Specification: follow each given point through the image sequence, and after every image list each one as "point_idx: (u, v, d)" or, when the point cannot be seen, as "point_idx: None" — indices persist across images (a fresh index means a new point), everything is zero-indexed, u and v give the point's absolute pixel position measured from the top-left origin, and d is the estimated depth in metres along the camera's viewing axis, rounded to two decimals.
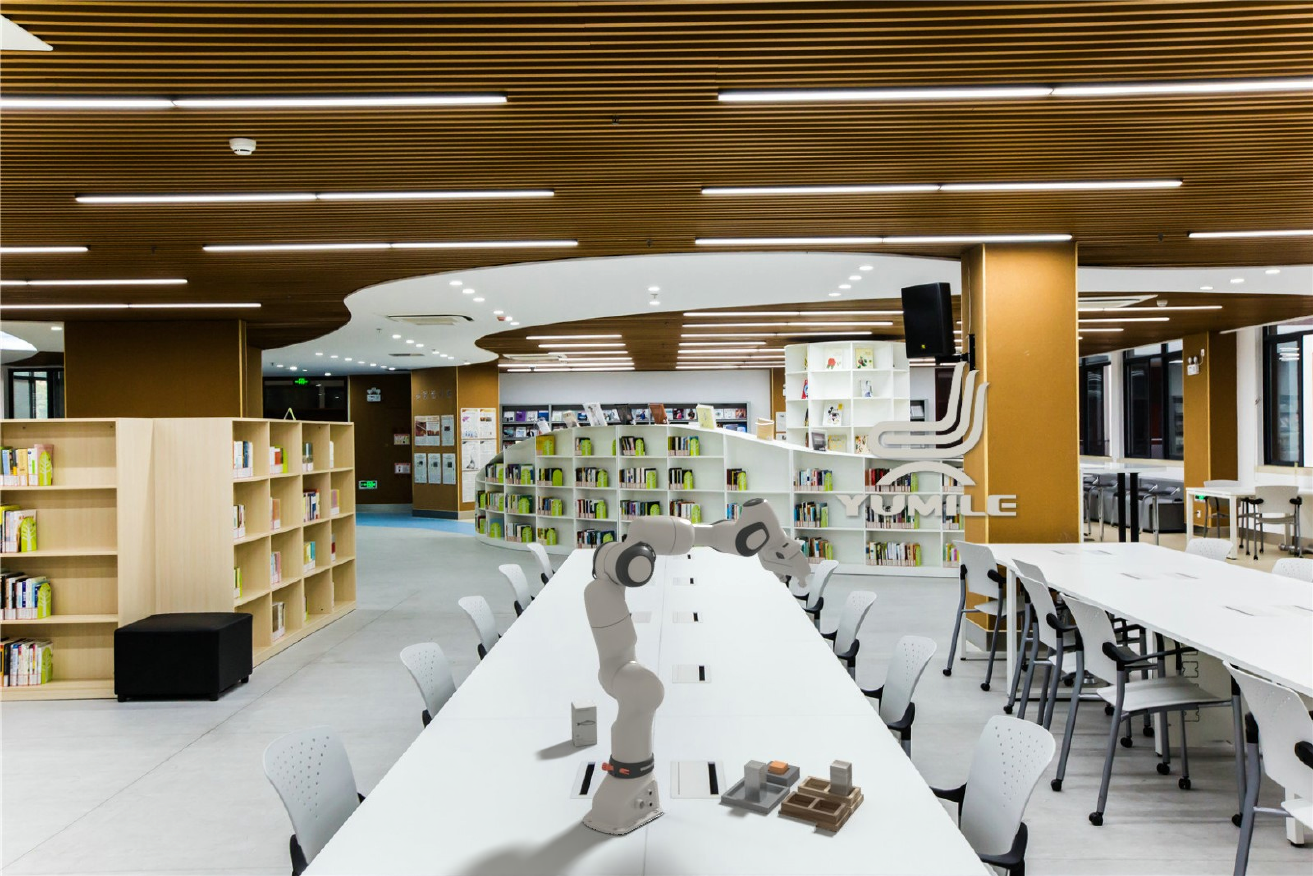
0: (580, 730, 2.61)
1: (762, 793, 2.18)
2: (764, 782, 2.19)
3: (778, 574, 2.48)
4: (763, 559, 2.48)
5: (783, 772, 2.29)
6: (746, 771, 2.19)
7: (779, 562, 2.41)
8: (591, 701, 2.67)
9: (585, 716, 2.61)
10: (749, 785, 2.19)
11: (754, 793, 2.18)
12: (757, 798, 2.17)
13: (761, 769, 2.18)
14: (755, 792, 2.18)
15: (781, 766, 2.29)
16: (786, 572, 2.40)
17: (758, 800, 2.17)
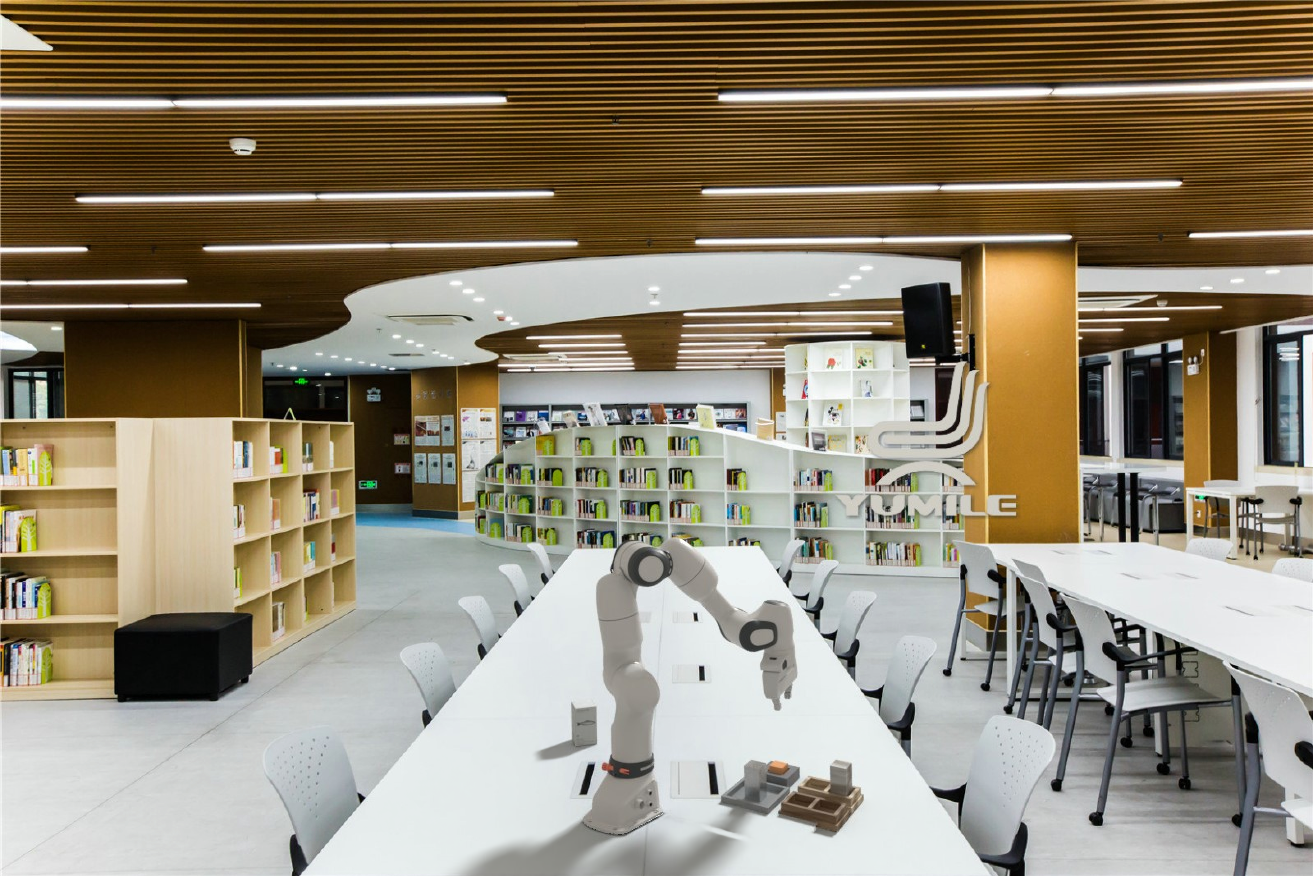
0: (580, 730, 2.61)
1: (762, 793, 2.18)
2: (764, 782, 2.19)
3: (787, 688, 2.37)
4: None
5: (783, 772, 2.29)
6: (746, 771, 2.19)
7: None
8: (591, 701, 2.67)
9: (584, 716, 2.61)
10: (749, 785, 2.19)
11: (754, 793, 2.18)
12: (757, 798, 2.17)
13: (761, 769, 2.18)
14: (755, 792, 2.18)
15: (781, 766, 2.29)
16: None
17: (758, 800, 2.17)
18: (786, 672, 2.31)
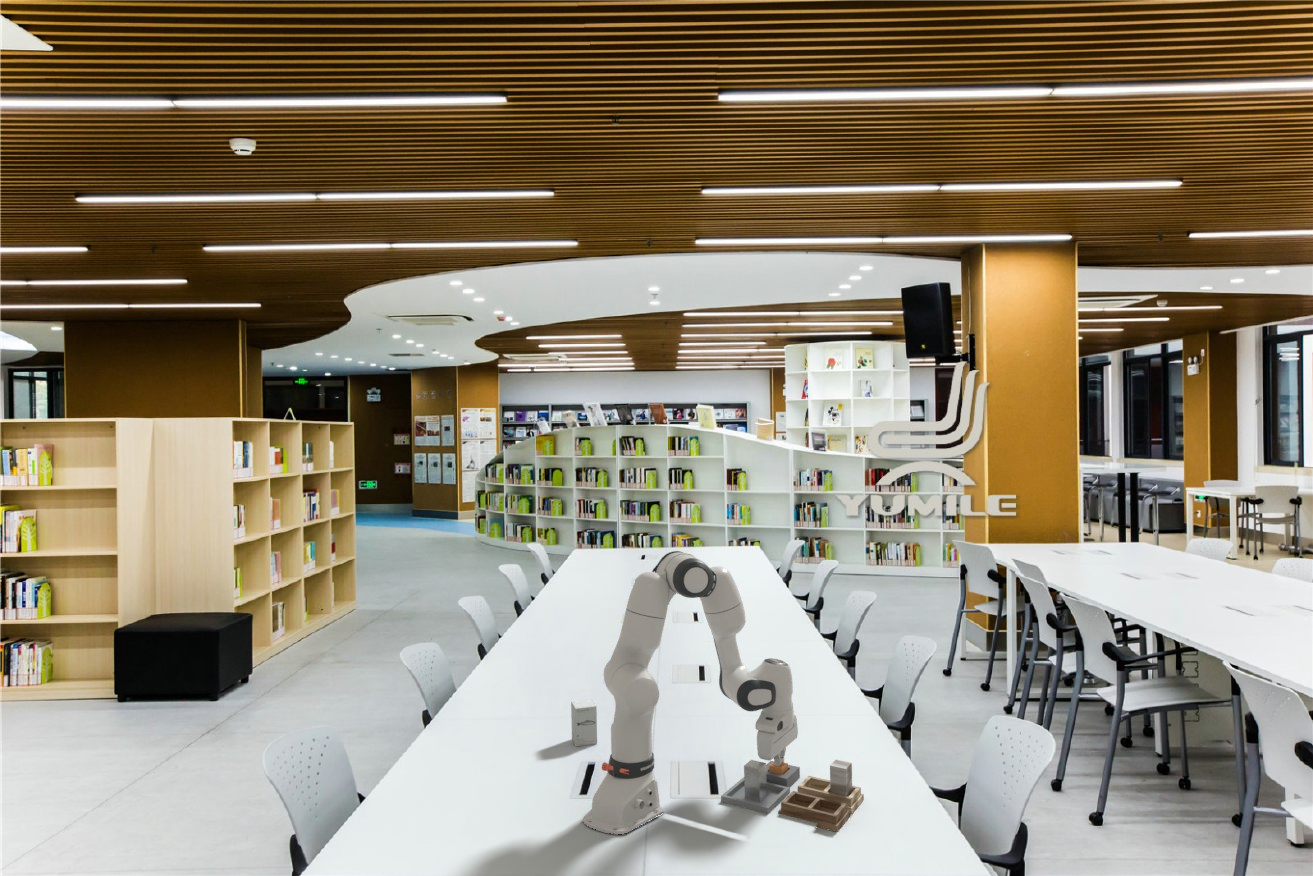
0: (580, 730, 2.61)
1: (762, 793, 2.18)
2: (764, 782, 2.19)
3: (780, 752, 2.32)
4: None
5: (783, 772, 2.29)
6: (746, 771, 2.19)
7: None
8: (591, 701, 2.67)
9: (584, 716, 2.61)
10: (749, 785, 2.19)
11: (754, 793, 2.18)
12: (757, 798, 2.17)
13: (761, 769, 2.18)
14: (755, 792, 2.18)
15: (781, 766, 2.29)
16: None
17: (758, 800, 2.17)
18: (783, 732, 2.30)
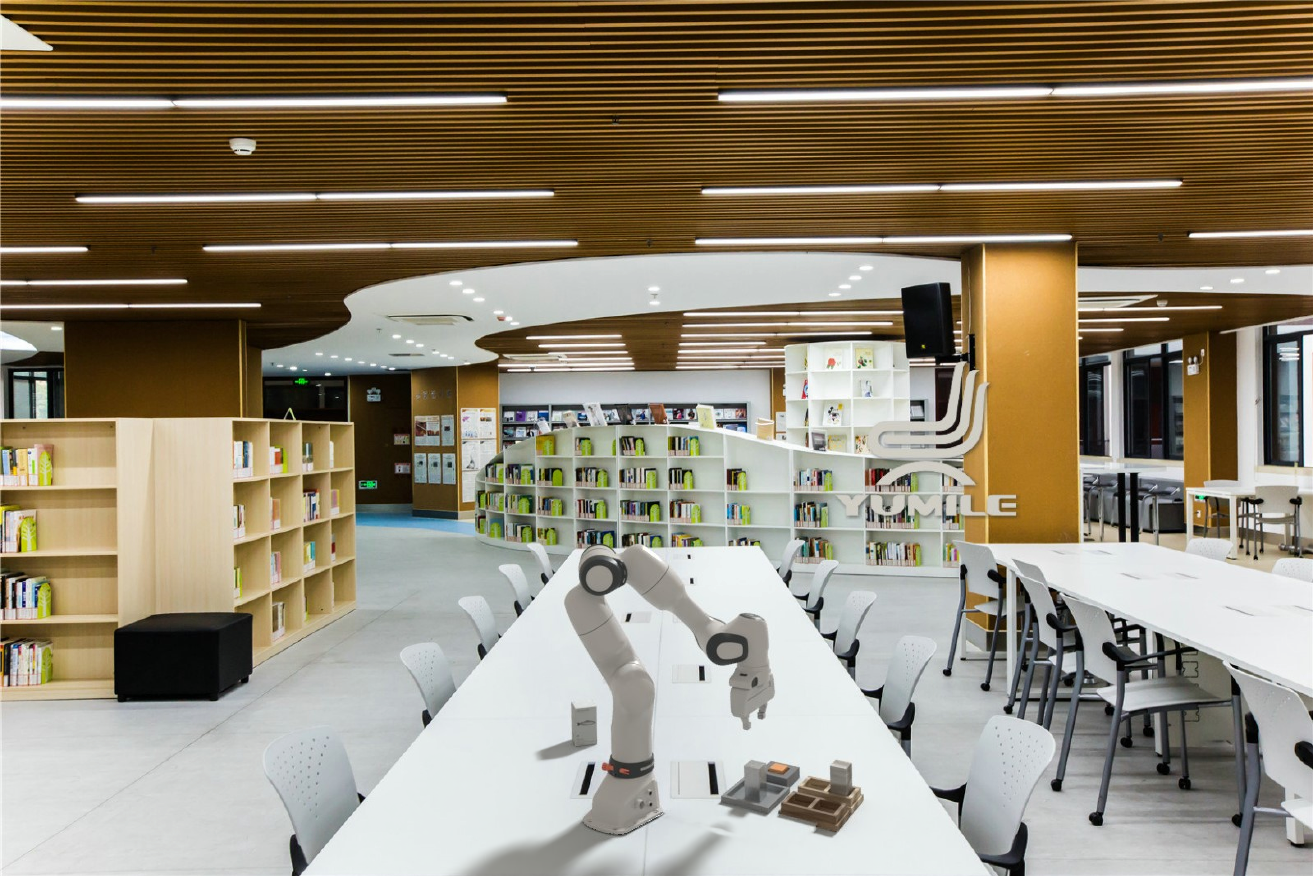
0: (580, 730, 2.61)
1: (762, 793, 2.18)
2: (764, 782, 2.19)
3: (761, 707, 2.24)
4: None
5: None
6: (746, 771, 2.19)
7: None
8: (591, 701, 2.67)
9: (584, 716, 2.61)
10: (749, 785, 2.19)
11: (754, 793, 2.18)
12: (757, 798, 2.17)
13: (761, 769, 2.18)
14: (755, 792, 2.18)
15: (781, 769, 2.29)
16: None
17: (758, 800, 2.17)
18: (759, 690, 2.19)
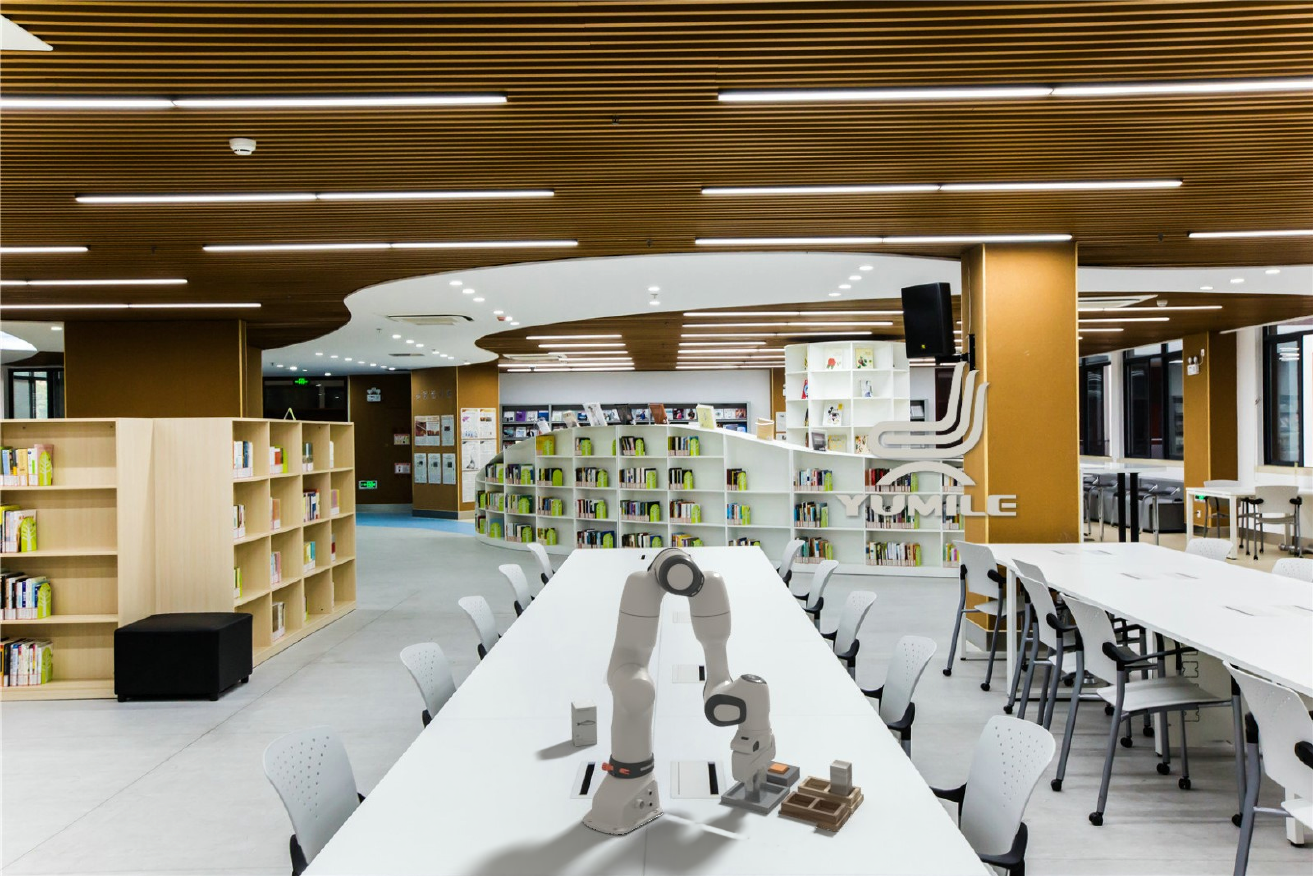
0: (580, 730, 2.61)
1: (762, 793, 2.18)
2: (764, 782, 2.19)
3: None
4: None
5: None
6: None
7: None
8: (591, 701, 2.67)
9: (585, 716, 2.61)
10: None
11: (754, 793, 2.18)
12: (757, 798, 2.17)
13: (761, 769, 2.18)
14: (755, 792, 2.18)
15: (781, 769, 2.29)
16: None
17: (758, 800, 2.17)
18: (760, 753, 2.19)
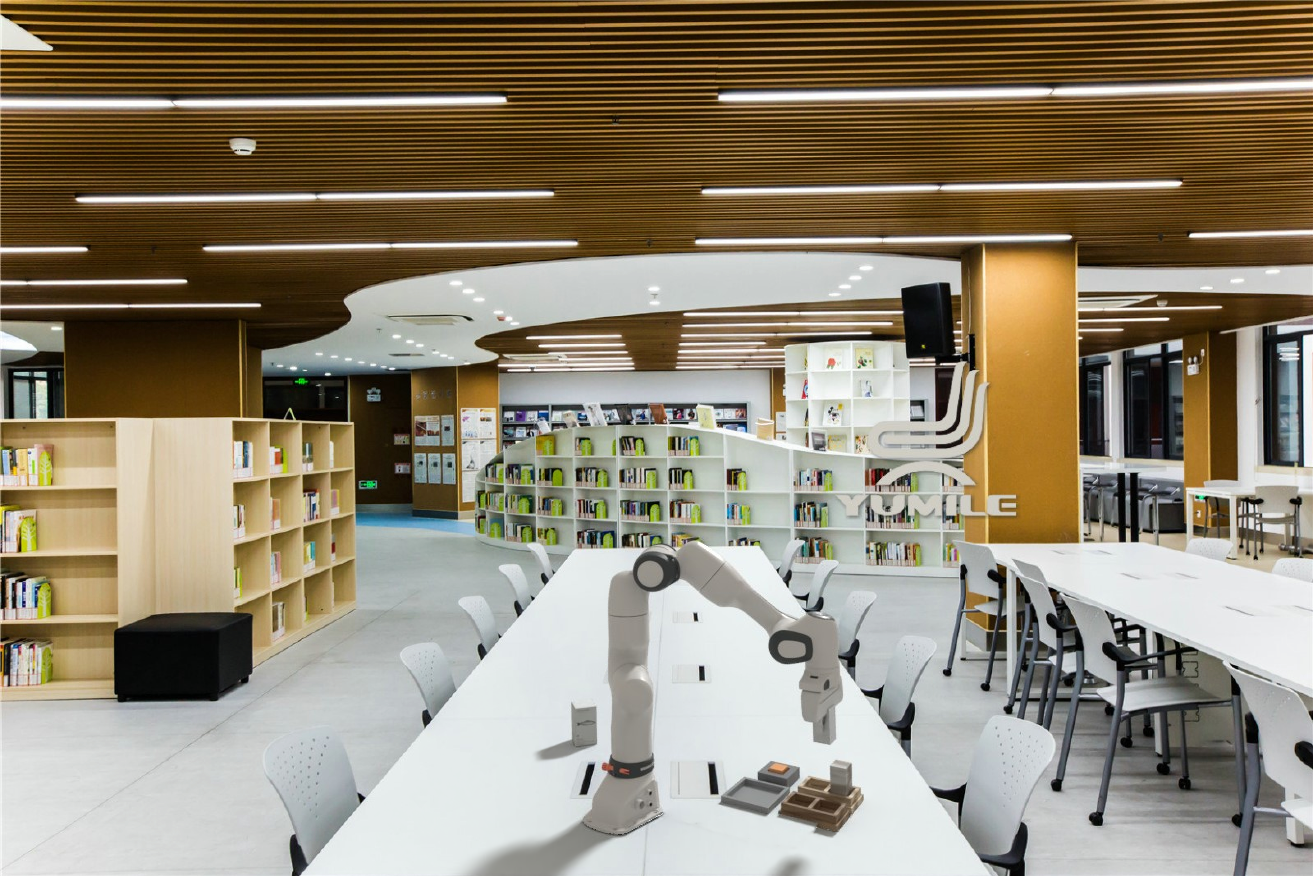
0: (580, 730, 2.61)
1: (832, 735, 2.07)
2: (833, 724, 2.08)
3: None
4: None
5: None
6: None
7: None
8: (591, 701, 2.67)
9: (584, 716, 2.61)
10: None
11: (823, 736, 2.06)
12: (827, 740, 2.06)
13: (831, 710, 2.07)
14: (824, 735, 2.06)
15: (781, 769, 2.29)
16: None
17: (828, 743, 2.06)
18: (829, 693, 2.08)
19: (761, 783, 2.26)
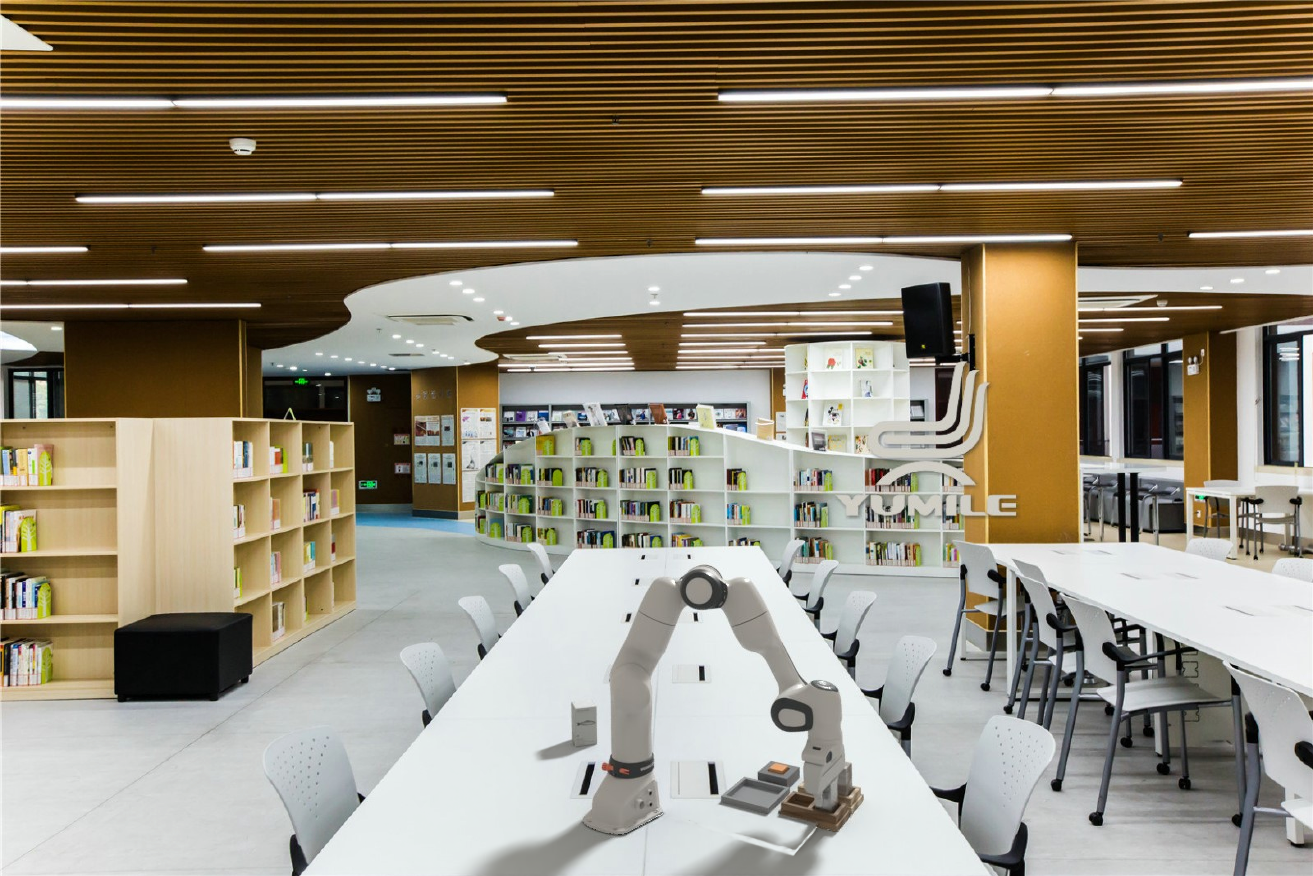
0: (580, 730, 2.61)
1: (833, 810, 2.07)
2: (835, 798, 2.08)
3: None
4: None
5: None
6: None
7: None
8: (591, 701, 2.67)
9: (585, 716, 2.61)
10: None
11: (825, 810, 2.06)
12: None
13: (832, 785, 2.07)
14: (826, 809, 2.06)
15: (781, 769, 2.29)
16: None
17: None
18: (831, 763, 2.08)
19: (761, 783, 2.26)
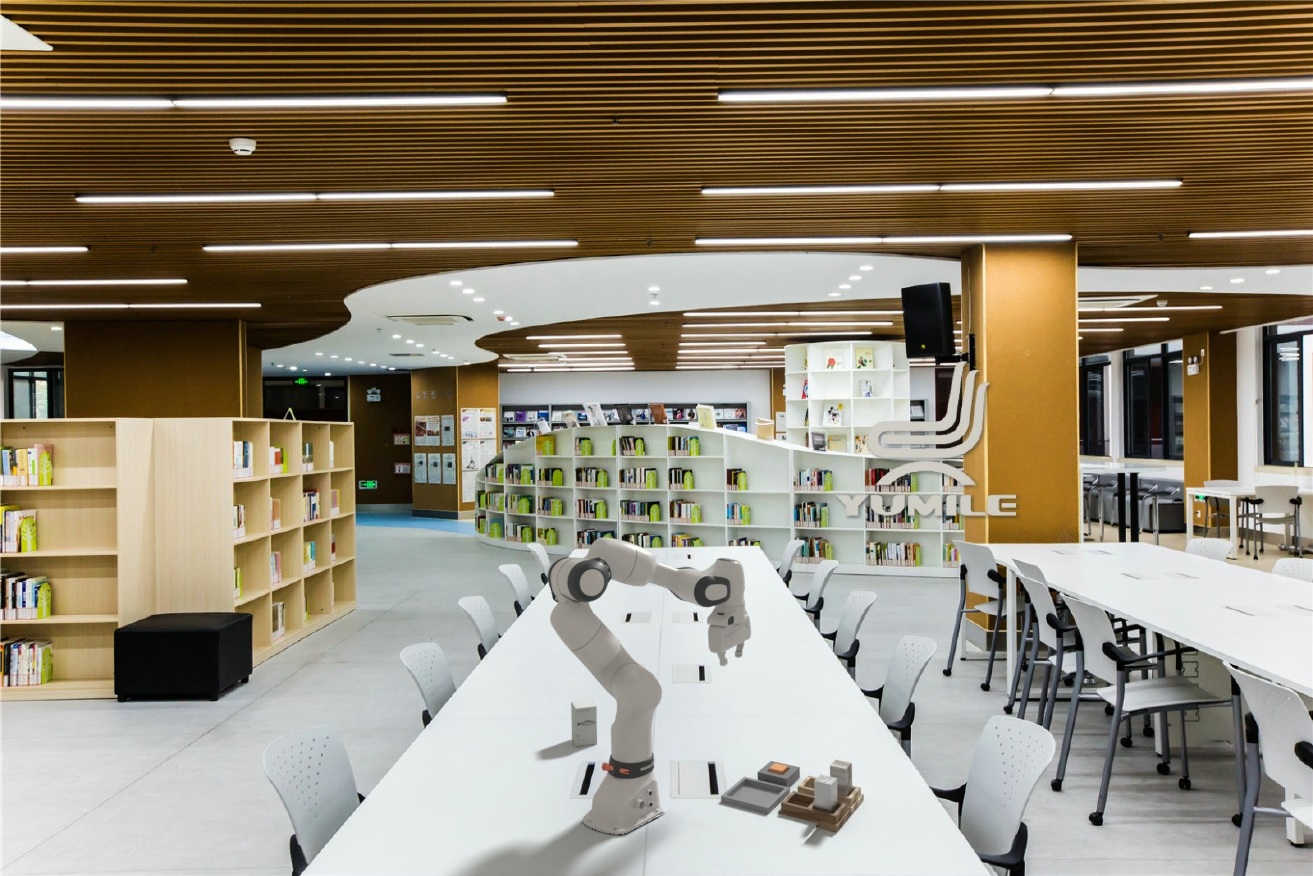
0: (580, 730, 2.61)
1: (833, 810, 2.07)
2: (835, 798, 2.08)
3: (738, 647, 2.39)
4: None
5: None
6: (816, 787, 2.07)
7: None
8: (591, 701, 2.67)
9: (584, 716, 2.61)
10: (819, 802, 2.07)
11: (825, 810, 2.06)
12: None
13: (832, 785, 2.07)
14: (826, 809, 2.06)
15: (781, 769, 2.29)
16: None
17: None
18: (735, 630, 2.34)
19: (761, 783, 2.26)
